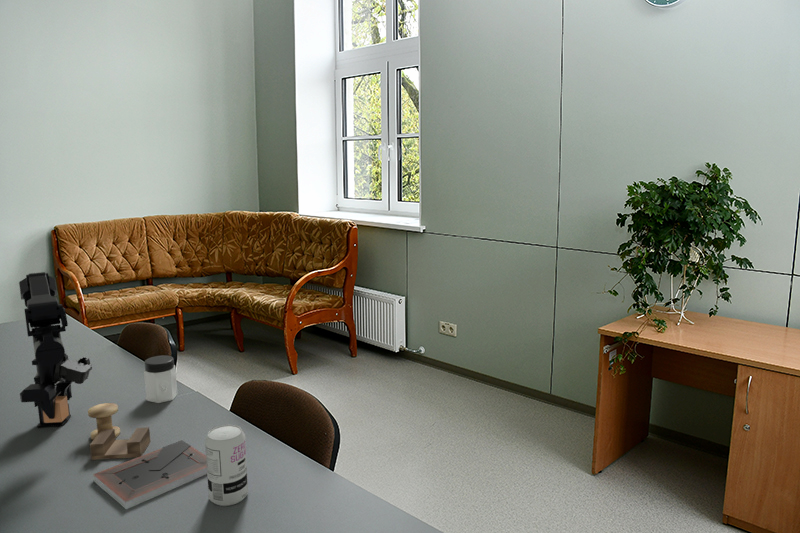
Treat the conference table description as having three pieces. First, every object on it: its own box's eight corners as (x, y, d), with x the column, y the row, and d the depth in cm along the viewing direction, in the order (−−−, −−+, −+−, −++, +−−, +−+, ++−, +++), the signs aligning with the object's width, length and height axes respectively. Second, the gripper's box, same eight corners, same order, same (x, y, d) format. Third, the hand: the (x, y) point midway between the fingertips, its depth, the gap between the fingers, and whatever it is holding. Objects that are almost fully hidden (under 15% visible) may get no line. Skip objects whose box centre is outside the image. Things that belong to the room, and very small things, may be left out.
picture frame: (182, 448, 153) (93, 483, 137) (181, 439, 153) (92, 473, 137) (218, 471, 142) (126, 511, 127) (217, 461, 142) (125, 500, 126)
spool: (86, 442, 155) (83, 415, 154) (96, 430, 162) (94, 403, 161) (114, 440, 156) (112, 413, 155) (124, 428, 163) (121, 402, 162)
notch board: (91, 459, 147) (89, 444, 146) (103, 444, 154) (102, 429, 154) (140, 457, 148) (139, 441, 147) (150, 441, 156) (149, 427, 155)
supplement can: (213, 487, 135) (209, 424, 132) (251, 485, 135) (247, 422, 132) (205, 508, 127) (200, 442, 124) (245, 506, 127) (241, 440, 124)
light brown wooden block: (44, 422, 145) (41, 403, 144) (51, 415, 149) (49, 396, 148) (61, 421, 145) (59, 402, 144) (68, 414, 149) (66, 395, 148)
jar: (149, 405, 178) (146, 366, 175) (143, 396, 184) (140, 358, 182) (180, 398, 183) (177, 360, 180) (174, 389, 189) (171, 353, 187)
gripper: (67, 365, 135) (75, 430, 138) (99, 339, 154) (105, 397, 157) (14, 367, 134) (23, 433, 137) (52, 341, 152) (59, 399, 155)
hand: (56, 414), depth 147 cm, fingers closed on light brown wooden block, 4 cm apart
